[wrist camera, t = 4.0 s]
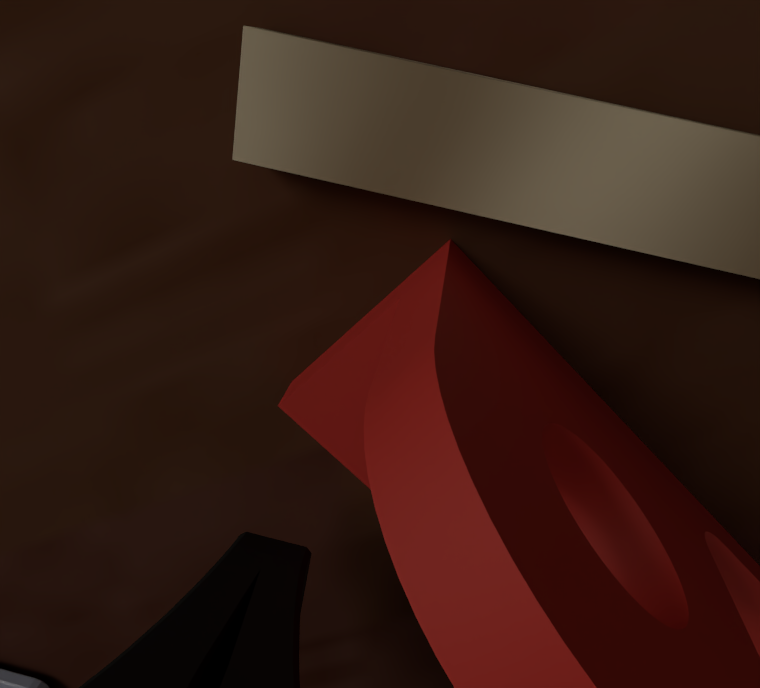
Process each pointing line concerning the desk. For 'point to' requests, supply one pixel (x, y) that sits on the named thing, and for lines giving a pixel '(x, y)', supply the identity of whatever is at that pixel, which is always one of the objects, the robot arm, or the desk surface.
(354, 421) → the bracket
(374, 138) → the guide track
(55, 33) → the desk surface
